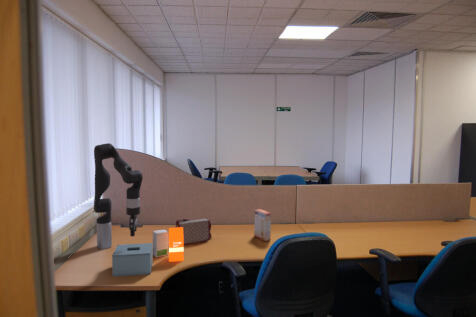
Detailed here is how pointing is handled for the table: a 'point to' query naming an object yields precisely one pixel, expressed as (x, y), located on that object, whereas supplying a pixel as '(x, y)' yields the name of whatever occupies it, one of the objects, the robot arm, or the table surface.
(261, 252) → the table surface
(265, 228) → the cracker box
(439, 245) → the table surface
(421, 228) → the table surface
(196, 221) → the handbag
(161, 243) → the skincare box
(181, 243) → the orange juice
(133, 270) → the box
